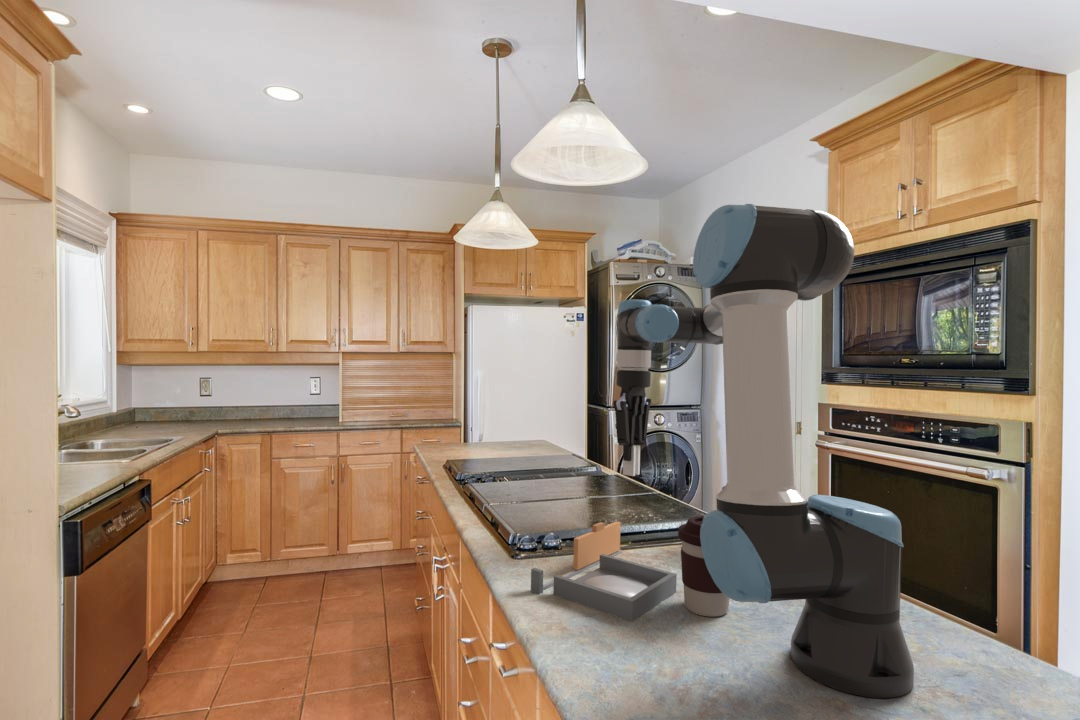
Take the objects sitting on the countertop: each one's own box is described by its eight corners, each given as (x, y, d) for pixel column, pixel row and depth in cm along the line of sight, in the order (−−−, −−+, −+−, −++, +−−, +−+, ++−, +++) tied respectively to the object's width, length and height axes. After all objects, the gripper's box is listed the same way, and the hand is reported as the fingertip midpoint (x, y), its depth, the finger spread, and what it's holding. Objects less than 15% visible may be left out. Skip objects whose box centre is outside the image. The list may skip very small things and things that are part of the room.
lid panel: (619, 549, 127) (620, 516, 127) (577, 569, 114) (578, 533, 114) (615, 548, 127) (616, 515, 127) (573, 568, 115) (574, 532, 115)
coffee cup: (743, 605, 101) (745, 519, 101) (727, 627, 93) (730, 533, 93) (687, 592, 107) (689, 510, 106) (668, 611, 98) (670, 522, 98)
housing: (702, 573, 116) (703, 553, 116) (627, 625, 93) (627, 600, 93) (616, 550, 128) (616, 532, 128) (530, 591, 105) (531, 569, 105)
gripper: (634, 368, 139) (632, 467, 139) (602, 369, 127) (599, 476, 127) (663, 369, 134) (661, 472, 134) (632, 370, 123) (629, 482, 123)
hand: (631, 474), depth 131 cm, fingers closed
